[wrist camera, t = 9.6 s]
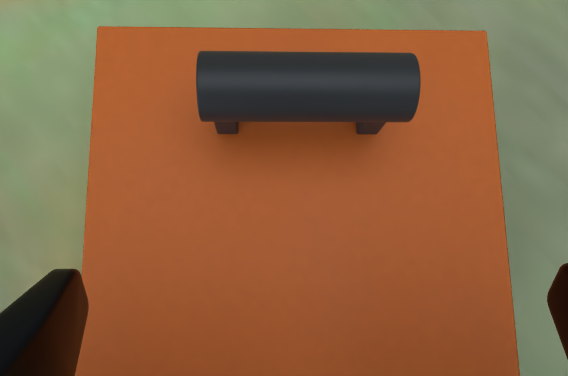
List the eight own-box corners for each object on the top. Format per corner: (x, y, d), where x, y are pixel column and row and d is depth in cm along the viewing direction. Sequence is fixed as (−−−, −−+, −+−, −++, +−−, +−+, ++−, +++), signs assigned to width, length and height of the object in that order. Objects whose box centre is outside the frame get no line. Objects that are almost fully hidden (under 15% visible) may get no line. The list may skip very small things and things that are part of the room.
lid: (102, 34, 17) (43, -57, 12) (479, 38, 17) (556, -47, 13) (79, 407, 14) (-3, 466, 10) (512, 396, 15) (621, 447, 11)
